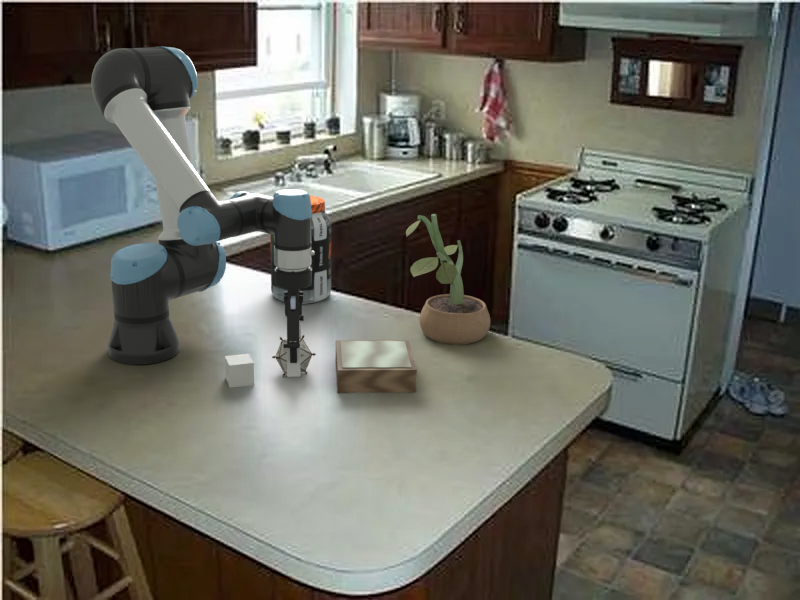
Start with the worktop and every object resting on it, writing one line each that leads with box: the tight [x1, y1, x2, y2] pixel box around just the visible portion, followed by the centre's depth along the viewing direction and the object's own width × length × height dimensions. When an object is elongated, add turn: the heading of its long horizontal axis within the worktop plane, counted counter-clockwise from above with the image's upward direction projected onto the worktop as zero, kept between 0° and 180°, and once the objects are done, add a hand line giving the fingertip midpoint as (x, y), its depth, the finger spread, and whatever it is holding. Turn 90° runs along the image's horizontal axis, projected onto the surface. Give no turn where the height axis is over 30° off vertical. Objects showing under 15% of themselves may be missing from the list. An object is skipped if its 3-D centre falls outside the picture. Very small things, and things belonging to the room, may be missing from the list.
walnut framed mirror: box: [335, 339, 418, 394], centre depth 190 cm, size 16×16×5 cm
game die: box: [271, 334, 317, 378], centre depth 190 cm, size 9×8×10 cm
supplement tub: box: [269, 195, 332, 305], centre depth 234 cm, size 16×16×26 cm
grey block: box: [224, 353, 255, 389], centre depth 186 cm, size 5×5×5 cm
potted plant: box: [405, 213, 491, 345], centre depth 211 cm, size 22×18×30 cm
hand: (294, 363), depth 191 cm, fingers open, 13 cm apart
